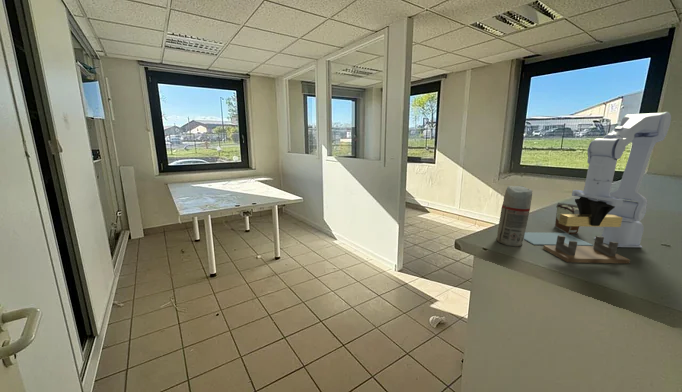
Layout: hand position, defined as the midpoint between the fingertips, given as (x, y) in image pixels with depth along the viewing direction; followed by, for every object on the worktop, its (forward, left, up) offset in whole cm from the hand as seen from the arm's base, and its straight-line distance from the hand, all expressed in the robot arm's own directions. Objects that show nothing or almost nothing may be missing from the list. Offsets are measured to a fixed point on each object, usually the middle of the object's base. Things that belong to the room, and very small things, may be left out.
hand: (589, 223), depth 82 cm
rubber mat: (0, -14, -10) cm, 17 cm away
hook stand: (0, 0, -10) cm, 10 cm away
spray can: (+17, -10, -11) cm, 22 cm away
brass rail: (0, 0, +1) cm, 1 cm away
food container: (-15, -24, -11) cm, 30 cm away
